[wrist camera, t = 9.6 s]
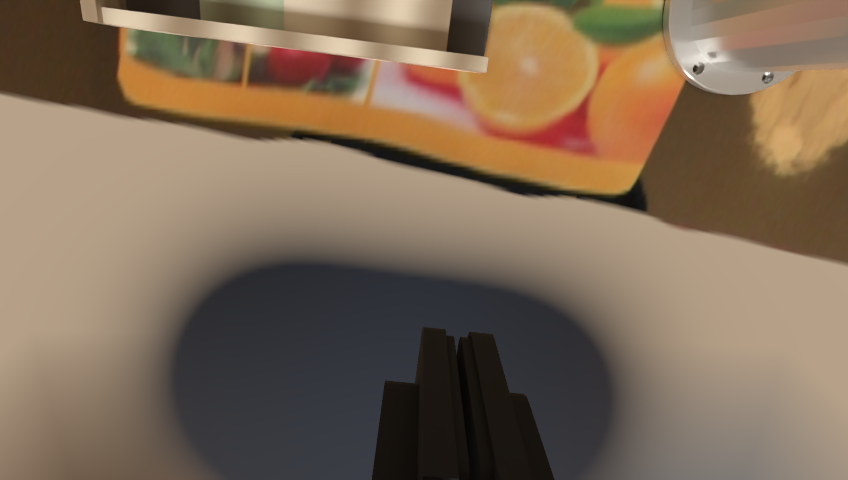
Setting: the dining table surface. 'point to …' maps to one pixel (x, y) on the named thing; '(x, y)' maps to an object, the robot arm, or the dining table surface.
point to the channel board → (321, 26)
